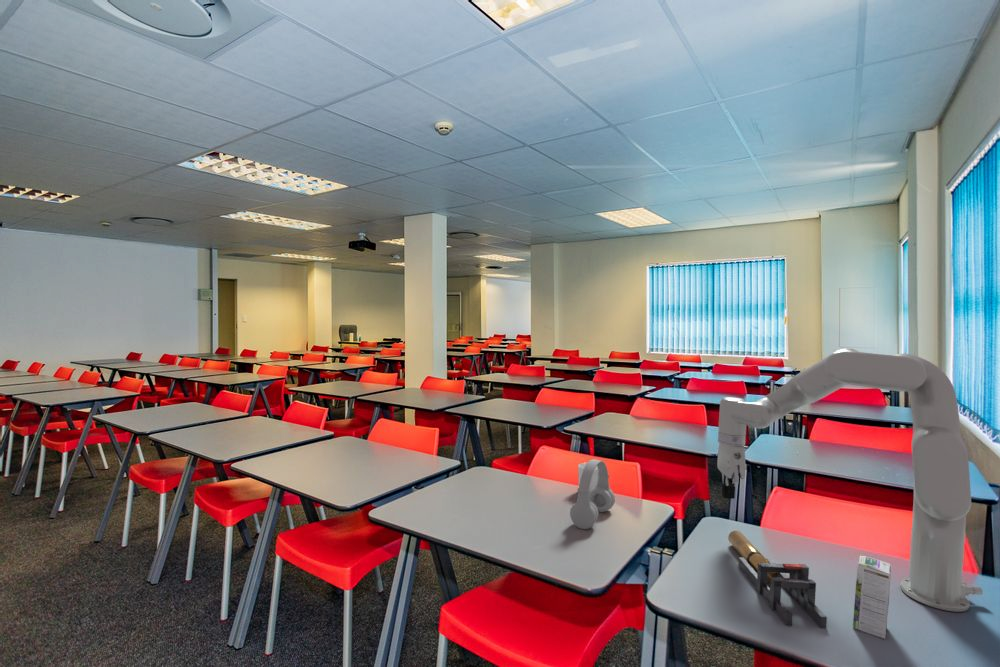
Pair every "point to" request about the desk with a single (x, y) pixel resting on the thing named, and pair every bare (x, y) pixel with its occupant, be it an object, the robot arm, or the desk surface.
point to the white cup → (593, 480)
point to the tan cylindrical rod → (749, 552)
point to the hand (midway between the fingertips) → (728, 497)
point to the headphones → (592, 496)
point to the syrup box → (872, 596)
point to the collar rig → (794, 584)
